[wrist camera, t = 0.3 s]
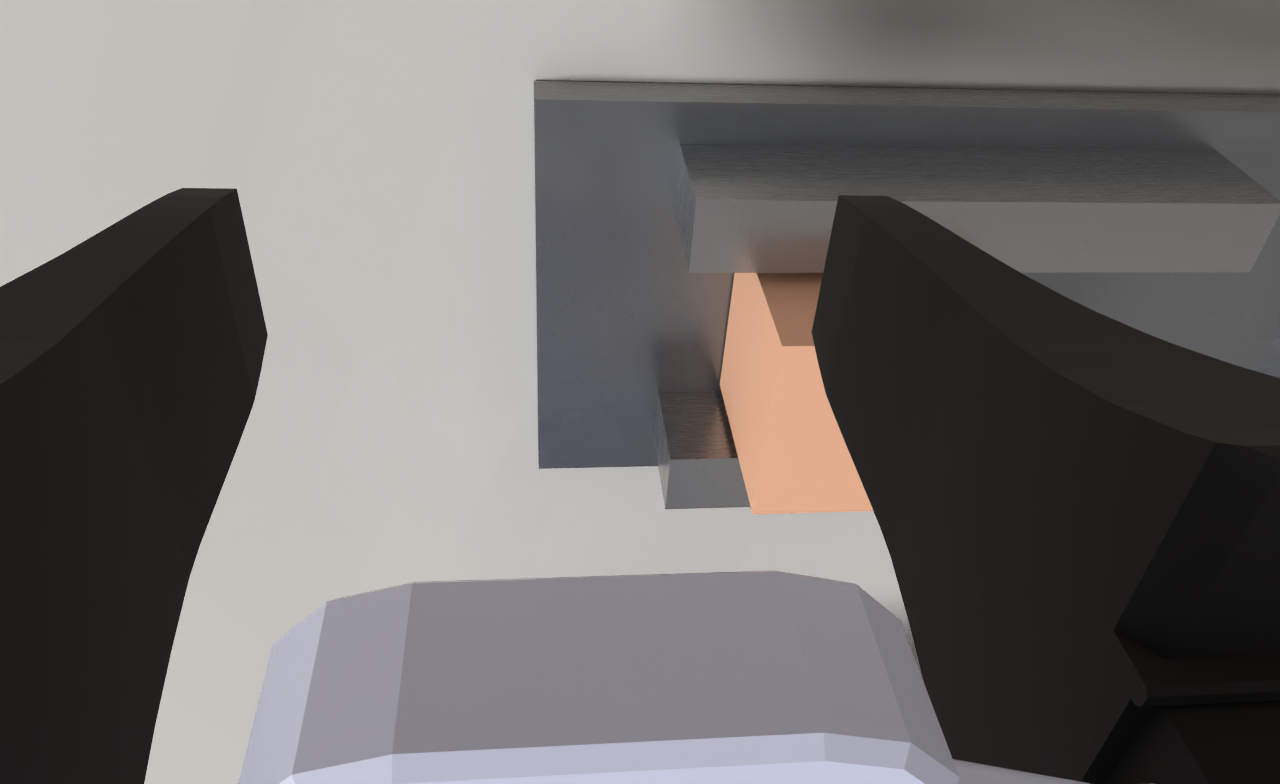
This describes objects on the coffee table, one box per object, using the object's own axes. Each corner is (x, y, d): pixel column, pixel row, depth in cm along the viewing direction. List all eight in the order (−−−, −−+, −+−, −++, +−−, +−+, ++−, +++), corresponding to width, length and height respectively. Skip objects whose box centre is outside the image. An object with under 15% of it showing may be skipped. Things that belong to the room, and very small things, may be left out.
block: (913, 381, 25) (977, 507, 21) (719, 384, 24) (752, 514, 21) (957, 228, 22) (1038, 343, 19) (740, 227, 22) (782, 346, 18)
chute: (1290, 428, 29) (1370, 514, 26) (538, 443, 27) (539, 538, 24) (1491, 99, 23) (1623, 166, 20) (534, 80, 20) (535, 153, 18)
